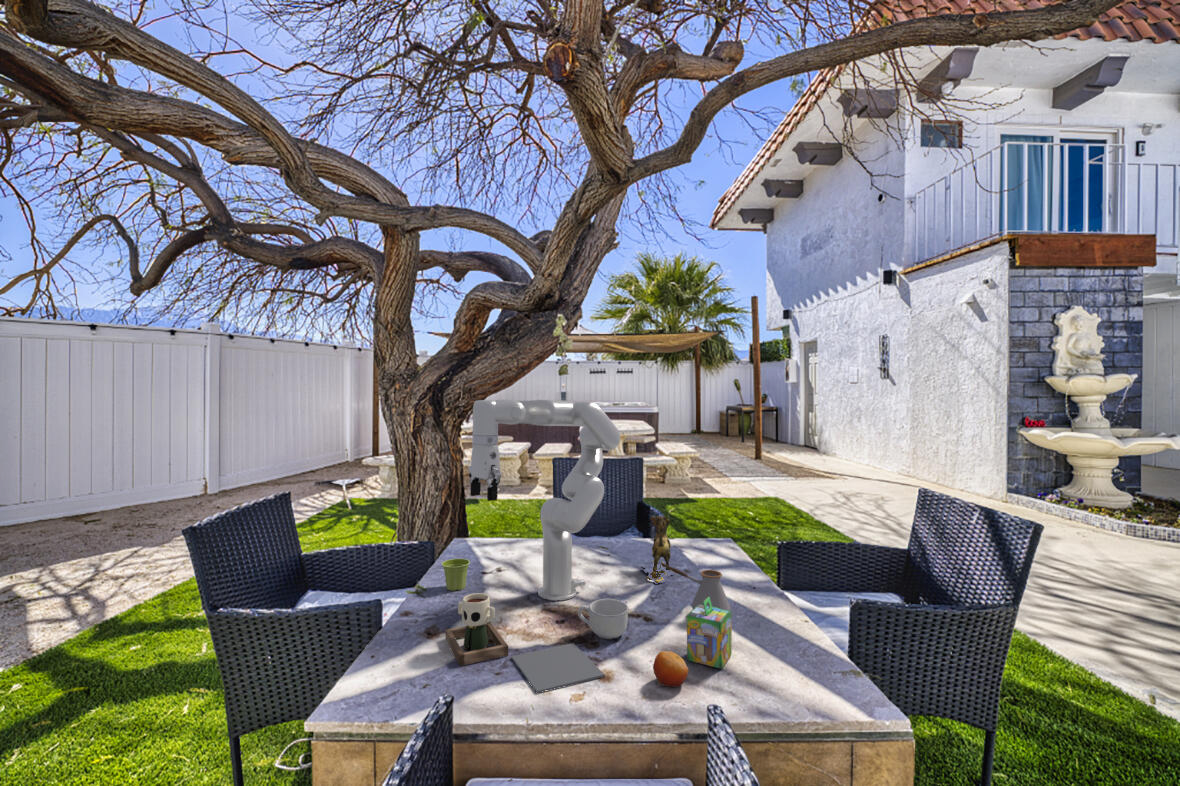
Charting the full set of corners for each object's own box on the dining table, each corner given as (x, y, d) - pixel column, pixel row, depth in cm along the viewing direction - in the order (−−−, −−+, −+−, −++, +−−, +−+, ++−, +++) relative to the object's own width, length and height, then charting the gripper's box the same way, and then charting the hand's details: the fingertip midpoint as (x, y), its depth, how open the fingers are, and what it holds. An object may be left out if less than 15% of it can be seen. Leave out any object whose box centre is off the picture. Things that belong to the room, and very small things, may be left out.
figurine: (675, 563, 219) (676, 511, 219) (674, 585, 194) (675, 527, 194) (642, 561, 221) (643, 510, 221) (637, 583, 196) (638, 525, 196)
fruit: (642, 669, 133) (659, 640, 134) (670, 685, 134) (687, 656, 134) (648, 687, 125) (667, 656, 126) (678, 704, 126) (696, 673, 126)
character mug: (450, 649, 146) (450, 599, 146) (465, 638, 152) (465, 590, 152) (487, 656, 142) (487, 605, 142) (500, 644, 149) (501, 595, 149)
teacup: (632, 629, 159) (632, 601, 159) (621, 646, 148) (622, 616, 148) (586, 622, 163) (586, 595, 163) (572, 638, 153) (572, 608, 153)
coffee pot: (729, 610, 173) (730, 561, 173) (731, 625, 162) (731, 573, 162) (660, 604, 177) (660, 557, 177) (657, 619, 166) (657, 568, 166)
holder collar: (490, 630, 157) (490, 621, 157) (508, 655, 143) (508, 645, 143) (445, 638, 152) (445, 629, 152) (459, 666, 137) (459, 655, 137)
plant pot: (435, 590, 188) (435, 564, 188) (452, 581, 197) (452, 557, 197) (459, 594, 185) (459, 568, 185) (475, 585, 193) (475, 560, 193)
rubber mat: (573, 645, 149) (573, 643, 149) (604, 676, 132) (604, 674, 132) (511, 658, 141) (511, 656, 141) (536, 693, 125) (536, 691, 125)
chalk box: (721, 670, 136) (721, 609, 136) (685, 660, 141) (686, 601, 141) (733, 655, 144) (733, 597, 144) (699, 646, 149) (699, 590, 148)
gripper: (511, 442, 165) (510, 501, 165) (481, 438, 178) (479, 492, 178) (489, 443, 160) (487, 503, 160) (459, 439, 173) (458, 494, 173)
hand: (483, 497), depth 169 cm, fingers open, 9 cm apart
